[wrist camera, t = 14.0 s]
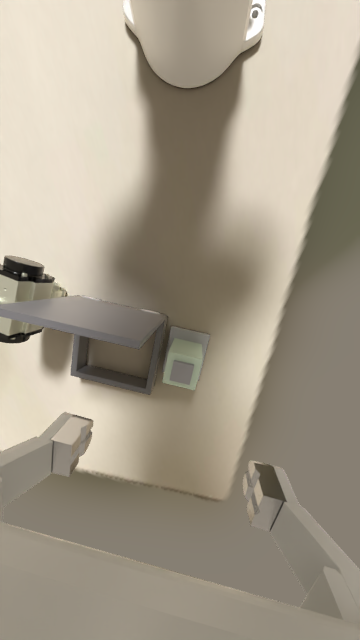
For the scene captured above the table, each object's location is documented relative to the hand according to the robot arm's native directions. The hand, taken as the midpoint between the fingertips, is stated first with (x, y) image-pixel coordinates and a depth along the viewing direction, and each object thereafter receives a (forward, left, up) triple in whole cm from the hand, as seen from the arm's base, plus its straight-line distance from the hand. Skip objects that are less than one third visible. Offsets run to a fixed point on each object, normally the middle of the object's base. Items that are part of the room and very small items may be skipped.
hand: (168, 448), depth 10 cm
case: (+6, -12, -25) cm, 28 cm away
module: (+5, 0, -25) cm, 25 cm away
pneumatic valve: (0, -25, -26) cm, 36 cm away
